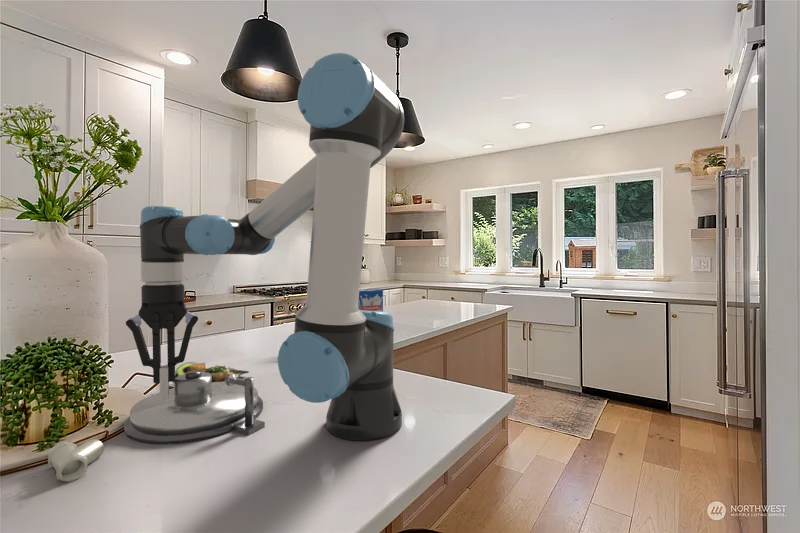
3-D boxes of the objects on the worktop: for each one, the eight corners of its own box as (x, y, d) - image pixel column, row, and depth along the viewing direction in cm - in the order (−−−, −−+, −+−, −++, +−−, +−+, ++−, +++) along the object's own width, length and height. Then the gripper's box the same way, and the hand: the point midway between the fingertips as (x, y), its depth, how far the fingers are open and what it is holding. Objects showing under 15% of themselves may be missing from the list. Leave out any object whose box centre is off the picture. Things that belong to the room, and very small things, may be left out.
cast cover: (212, 403, 83) (211, 374, 82) (173, 408, 80) (172, 379, 79) (211, 392, 89) (211, 366, 89) (176, 397, 86) (175, 370, 86)
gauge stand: (264, 426, 79) (264, 375, 79) (248, 435, 75) (248, 381, 75) (235, 419, 82) (234, 370, 82) (218, 426, 79) (218, 375, 79)
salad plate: (251, 369, 119) (251, 354, 119) (245, 389, 102) (245, 371, 102) (180, 375, 114) (179, 359, 114) (160, 396, 97) (160, 377, 97)
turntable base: (271, 426, 79) (271, 421, 79) (111, 456, 67) (111, 450, 67) (255, 387, 102) (255, 383, 102) (134, 404, 90) (134, 400, 90)
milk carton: (360, 342, 155) (360, 291, 154) (354, 339, 160) (354, 289, 160) (383, 339, 160) (383, 290, 159) (376, 336, 165) (376, 288, 165)
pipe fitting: (98, 455, 69) (47, 468, 64) (100, 432, 69) (49, 443, 64) (112, 471, 64) (57, 486, 59) (114, 446, 64) (59, 459, 59)
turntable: (265, 419, 79) (265, 384, 79) (119, 445, 68) (118, 405, 68) (251, 384, 101) (251, 356, 100) (139, 399, 90) (138, 369, 90)
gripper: (198, 281, 87) (200, 387, 88) (127, 283, 81) (129, 396, 82) (198, 283, 81) (200, 398, 81) (121, 285, 75) (123, 409, 75)
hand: (164, 397), depth 82 cm, fingers closed
